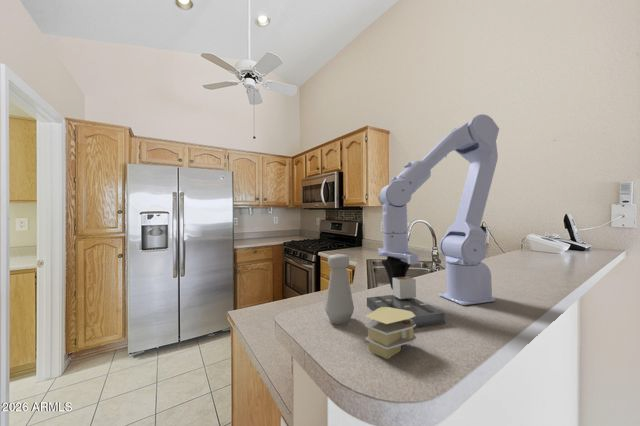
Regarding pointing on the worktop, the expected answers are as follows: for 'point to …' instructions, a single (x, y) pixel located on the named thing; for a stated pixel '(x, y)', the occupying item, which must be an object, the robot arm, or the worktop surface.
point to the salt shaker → (339, 291)
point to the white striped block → (404, 287)
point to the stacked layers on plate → (389, 330)
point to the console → (409, 309)
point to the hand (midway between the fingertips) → (396, 289)
